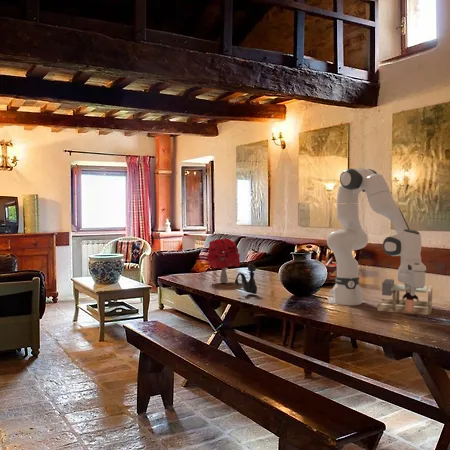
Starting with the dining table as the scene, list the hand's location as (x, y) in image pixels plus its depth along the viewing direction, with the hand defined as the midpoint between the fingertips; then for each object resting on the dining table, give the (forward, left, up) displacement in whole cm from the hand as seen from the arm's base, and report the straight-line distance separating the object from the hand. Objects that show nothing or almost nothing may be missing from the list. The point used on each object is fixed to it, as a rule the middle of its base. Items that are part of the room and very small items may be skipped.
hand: (410, 294), depth 226 cm
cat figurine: (-67, -68, -10) cm, 96 cm away
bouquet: (-114, -77, -10) cm, 138 cm away
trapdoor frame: (-16, 0, -10) cm, 19 cm away
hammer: (-16, 0, 0) cm, 16 cm away
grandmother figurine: (0, 0, -9) cm, 9 cm away
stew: (-102, -12, -10) cm, 104 cm away
